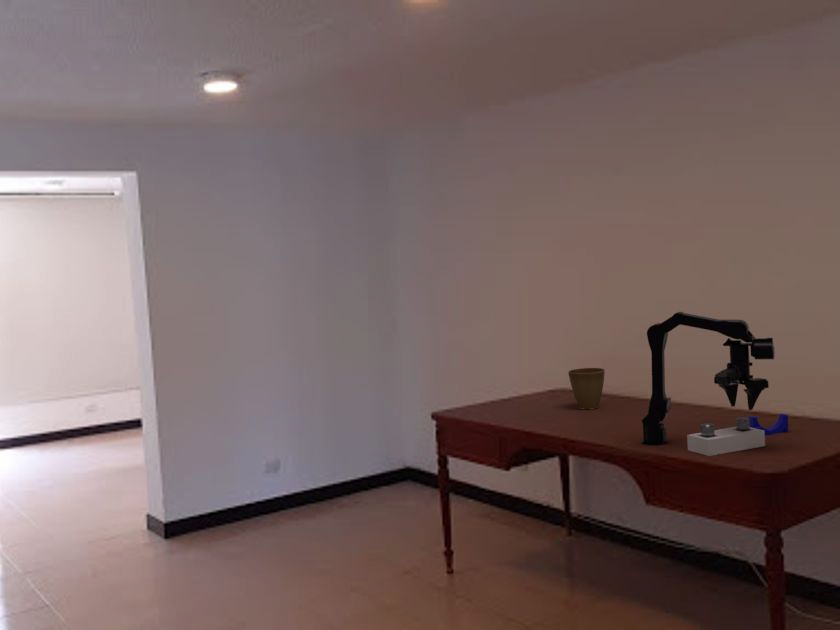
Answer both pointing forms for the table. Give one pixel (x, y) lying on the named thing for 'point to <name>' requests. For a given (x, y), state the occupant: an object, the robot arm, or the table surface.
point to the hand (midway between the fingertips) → (741, 408)
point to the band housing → (726, 441)
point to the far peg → (742, 424)
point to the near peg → (707, 430)
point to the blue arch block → (777, 428)
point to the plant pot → (587, 386)
